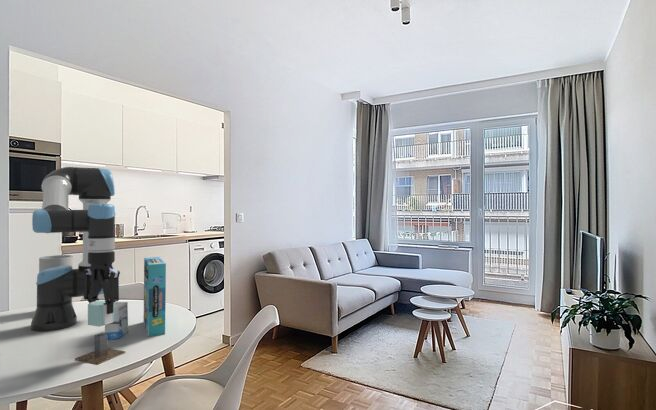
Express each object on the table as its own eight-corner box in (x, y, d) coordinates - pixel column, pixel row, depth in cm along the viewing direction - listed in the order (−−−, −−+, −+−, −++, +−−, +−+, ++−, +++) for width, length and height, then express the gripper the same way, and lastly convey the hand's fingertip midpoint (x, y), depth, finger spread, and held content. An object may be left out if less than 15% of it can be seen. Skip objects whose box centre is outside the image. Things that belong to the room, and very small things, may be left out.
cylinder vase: (75, 306, 182) (76, 254, 182) (67, 313, 170) (67, 258, 170) (45, 308, 178) (45, 255, 178) (33, 316, 166) (34, 259, 166)
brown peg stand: (75, 359, 120) (75, 337, 120) (103, 348, 129) (103, 328, 129) (97, 364, 116) (98, 341, 116) (125, 352, 126) (125, 331, 126)
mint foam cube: (87, 324, 121) (87, 304, 121) (102, 320, 126) (102, 300, 126) (99, 326, 119) (99, 305, 119) (113, 322, 124) (114, 301, 124)
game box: (142, 322, 158) (143, 257, 158) (159, 319, 162) (159, 256, 162) (147, 337, 141) (147, 264, 141) (165, 334, 144) (166, 263, 144)
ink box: (118, 339, 138) (118, 307, 138) (103, 339, 138) (103, 307, 138) (128, 331, 146) (128, 301, 146) (114, 332, 146) (115, 301, 146)
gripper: (70, 251, 122) (70, 323, 122) (111, 253, 116) (111, 329, 116) (92, 248, 130) (91, 316, 129) (132, 250, 123) (132, 322, 123)
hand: (101, 322), depth 123 cm, fingers closed on mint foam cube, 5 cm apart
